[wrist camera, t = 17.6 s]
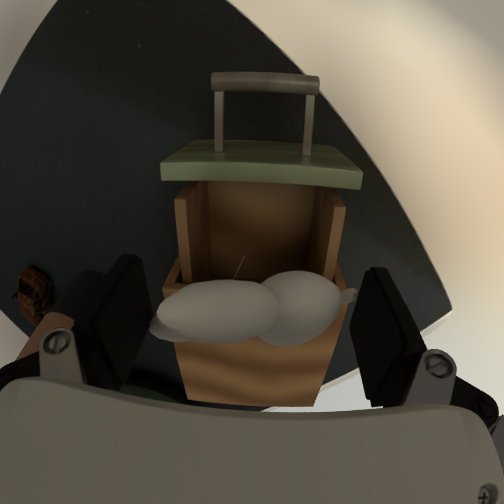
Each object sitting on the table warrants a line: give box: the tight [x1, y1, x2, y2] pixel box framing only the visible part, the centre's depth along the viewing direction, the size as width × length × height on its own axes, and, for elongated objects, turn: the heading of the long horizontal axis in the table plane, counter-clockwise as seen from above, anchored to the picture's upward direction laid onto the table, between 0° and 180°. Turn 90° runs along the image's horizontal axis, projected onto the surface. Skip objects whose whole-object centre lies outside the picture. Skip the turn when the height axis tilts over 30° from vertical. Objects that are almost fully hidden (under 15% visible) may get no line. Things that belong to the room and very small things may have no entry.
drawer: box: [160, 72, 363, 284], centre depth 23 cm, size 20×12×9 cm, turn 178°
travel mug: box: [15, 271, 105, 361], centre depth 27 cm, size 8×8×20 cm
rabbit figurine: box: [149, 256, 359, 347], centre depth 11 cm, size 6×4×8 cm
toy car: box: [12, 267, 52, 327], centre depth 35 cm, size 12×7×5 cm, turn 155°
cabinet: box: [162, 254, 348, 407], centre depth 29 cm, size 16×14×11 cm
